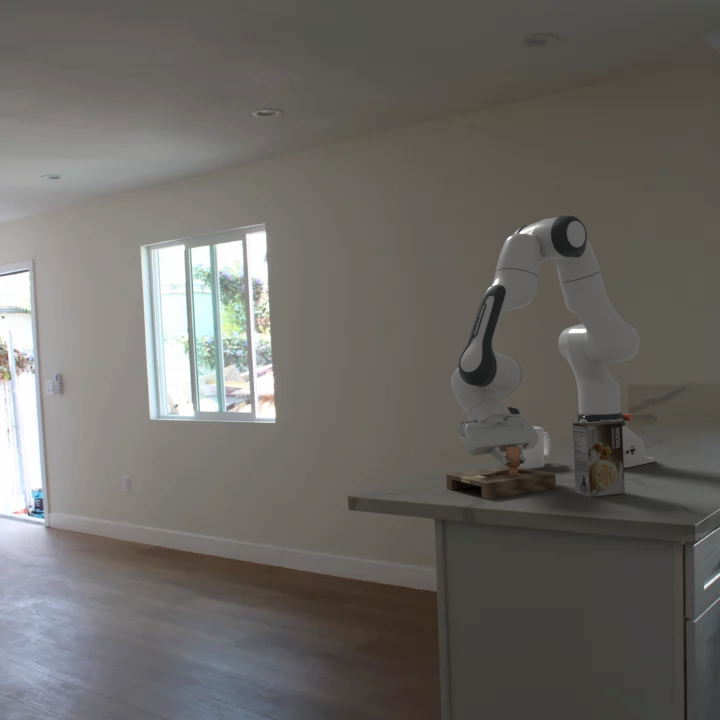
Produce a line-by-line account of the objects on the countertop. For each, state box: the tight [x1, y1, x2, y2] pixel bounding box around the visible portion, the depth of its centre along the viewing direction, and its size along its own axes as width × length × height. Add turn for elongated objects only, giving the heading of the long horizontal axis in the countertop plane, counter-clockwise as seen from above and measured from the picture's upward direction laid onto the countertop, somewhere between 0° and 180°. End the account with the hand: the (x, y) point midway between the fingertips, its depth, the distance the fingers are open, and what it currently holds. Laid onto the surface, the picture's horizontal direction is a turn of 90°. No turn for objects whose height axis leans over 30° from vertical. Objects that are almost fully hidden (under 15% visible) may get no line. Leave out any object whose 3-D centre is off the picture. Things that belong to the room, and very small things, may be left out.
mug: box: [519, 425, 551, 469], centre depth 224 cm, size 14×10×11 cm
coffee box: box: [572, 421, 626, 498], centre depth 181 cm, size 9×6×16 cm
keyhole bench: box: [445, 466, 557, 500], centre depth 191 cm, size 20×16×4 cm
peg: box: [505, 446, 520, 475], centre depth 192 cm, size 5×5×9 cm
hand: (514, 463), depth 192 cm, fingers closed on peg, 3 cm apart
